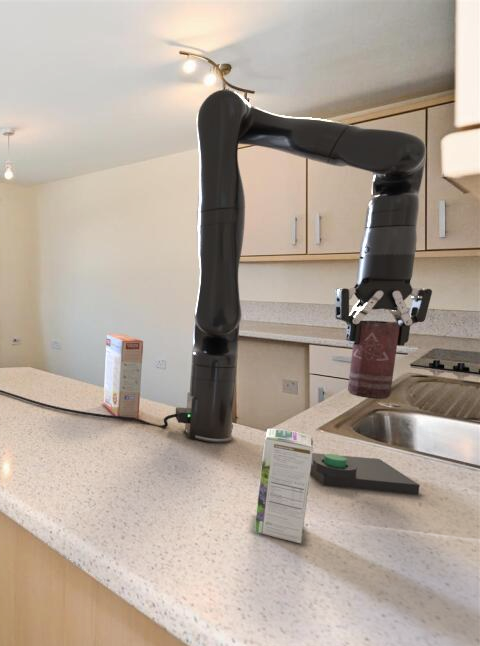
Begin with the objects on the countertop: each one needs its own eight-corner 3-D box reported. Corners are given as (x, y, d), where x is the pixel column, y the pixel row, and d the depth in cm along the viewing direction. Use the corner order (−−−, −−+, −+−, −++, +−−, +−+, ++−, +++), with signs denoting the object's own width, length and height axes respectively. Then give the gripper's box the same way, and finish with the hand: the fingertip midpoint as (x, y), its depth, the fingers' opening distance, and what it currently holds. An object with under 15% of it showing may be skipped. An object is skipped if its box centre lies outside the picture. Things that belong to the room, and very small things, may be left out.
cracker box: (140, 419, 123) (144, 340, 120) (117, 419, 123) (120, 340, 120) (123, 404, 136) (126, 333, 134) (102, 404, 136) (105, 333, 134)
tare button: (328, 467, 84) (329, 459, 83) (320, 460, 87) (321, 452, 86) (349, 469, 83) (350, 461, 83) (340, 462, 86) (341, 454, 86)
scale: (320, 486, 83) (322, 467, 83) (293, 460, 95) (294, 443, 95) (420, 496, 79) (423, 477, 79) (378, 468, 91) (380, 450, 91)
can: (399, 400, 84) (410, 323, 82) (359, 398, 86) (369, 322, 84) (377, 392, 90) (387, 320, 88) (340, 390, 92) (349, 319, 90)
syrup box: (256, 516, 73) (264, 426, 71) (303, 527, 70) (313, 434, 68) (254, 532, 68) (262, 437, 66) (303, 545, 65) (314, 445, 63)
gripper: (421, 253, 86) (409, 343, 88) (330, 254, 90) (321, 340, 92) (450, 251, 79) (436, 349, 81) (350, 252, 83) (340, 345, 85)
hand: (375, 344), depth 87 cm, fingers closed on can, 6 cm apart
